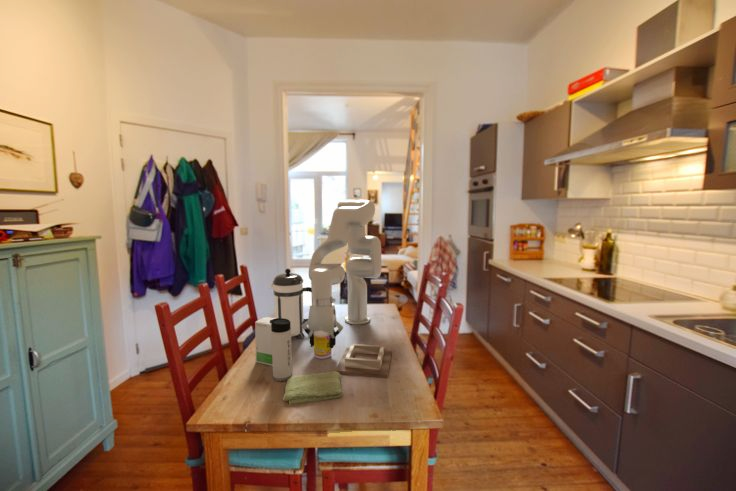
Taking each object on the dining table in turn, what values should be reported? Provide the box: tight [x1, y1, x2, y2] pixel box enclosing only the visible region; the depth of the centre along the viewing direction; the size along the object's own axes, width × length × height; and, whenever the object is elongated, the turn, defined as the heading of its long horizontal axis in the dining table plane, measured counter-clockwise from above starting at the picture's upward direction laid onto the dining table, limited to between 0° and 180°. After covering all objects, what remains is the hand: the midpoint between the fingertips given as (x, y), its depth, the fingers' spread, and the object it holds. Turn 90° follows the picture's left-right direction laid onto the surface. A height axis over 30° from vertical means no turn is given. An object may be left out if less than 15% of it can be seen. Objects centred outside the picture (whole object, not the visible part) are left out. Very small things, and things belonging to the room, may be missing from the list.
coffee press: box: [269, 268, 312, 339], centre depth 142 cm, size 17×16×30 cm
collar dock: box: [334, 343, 393, 378], centre depth 119 cm, size 18×18×4 cm
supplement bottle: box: [313, 327, 332, 360], centre depth 124 cm, size 7×7×13 cm
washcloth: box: [283, 370, 344, 405], centre depth 101 cm, size 13×18×3 cm
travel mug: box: [270, 318, 293, 382], centre depth 108 cm, size 6×7×20 cm
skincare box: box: [254, 316, 276, 367], centre depth 119 cm, size 8×7×16 cm
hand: (322, 345), depth 124 cm, fingers open, 7 cm apart
